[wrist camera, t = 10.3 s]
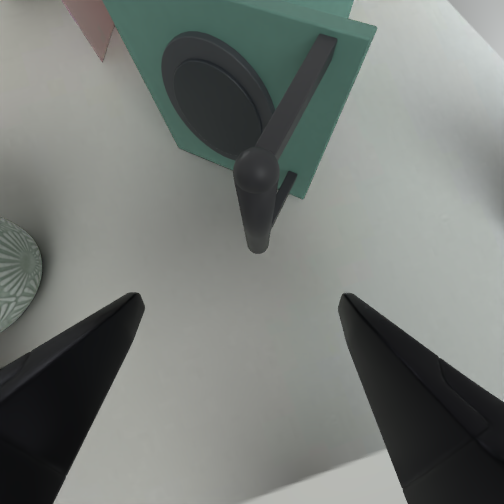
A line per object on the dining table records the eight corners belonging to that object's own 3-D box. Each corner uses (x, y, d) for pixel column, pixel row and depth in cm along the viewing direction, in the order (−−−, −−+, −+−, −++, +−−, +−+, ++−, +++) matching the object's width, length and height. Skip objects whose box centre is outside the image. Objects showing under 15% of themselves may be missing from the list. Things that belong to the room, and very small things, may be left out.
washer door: (270, 268, 18) (293, 197, 6) (139, 205, 20) (-44, 57, 8) (306, 193, 19) (381, 18, 7) (182, 142, 21) (85, -61, 9)
